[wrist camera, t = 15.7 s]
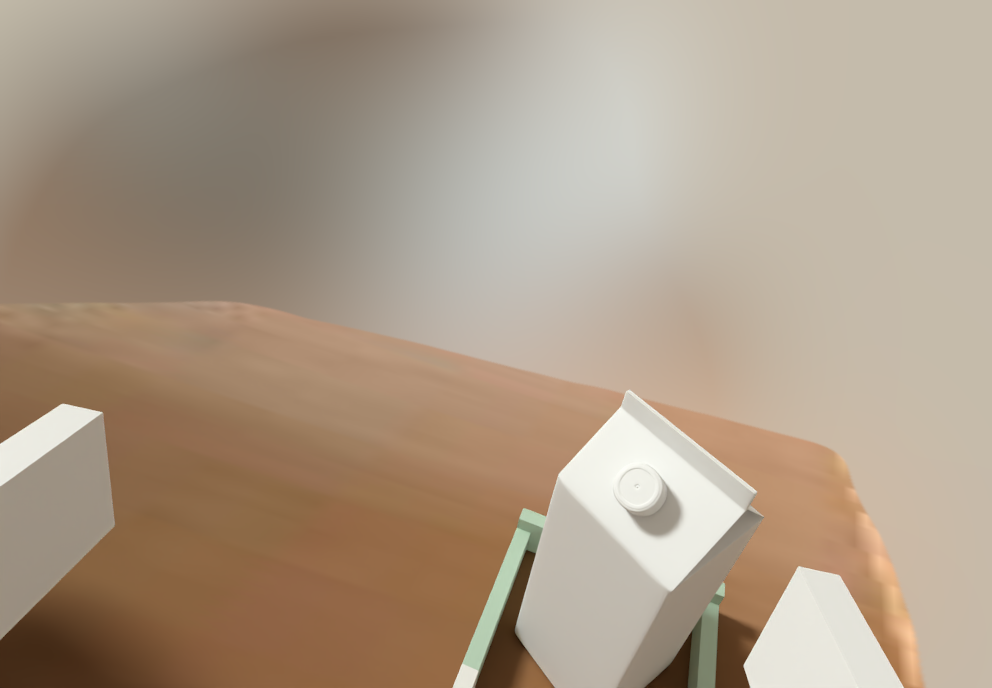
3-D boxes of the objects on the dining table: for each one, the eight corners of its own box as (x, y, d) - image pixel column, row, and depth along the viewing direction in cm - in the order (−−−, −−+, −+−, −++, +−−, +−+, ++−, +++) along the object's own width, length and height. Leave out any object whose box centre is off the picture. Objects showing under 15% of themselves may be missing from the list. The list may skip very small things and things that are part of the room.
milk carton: (591, 577, 41) (674, 367, 30) (670, 665, 37) (801, 459, 25) (512, 632, 37) (573, 415, 26) (590, 738, 33) (703, 533, 22)
